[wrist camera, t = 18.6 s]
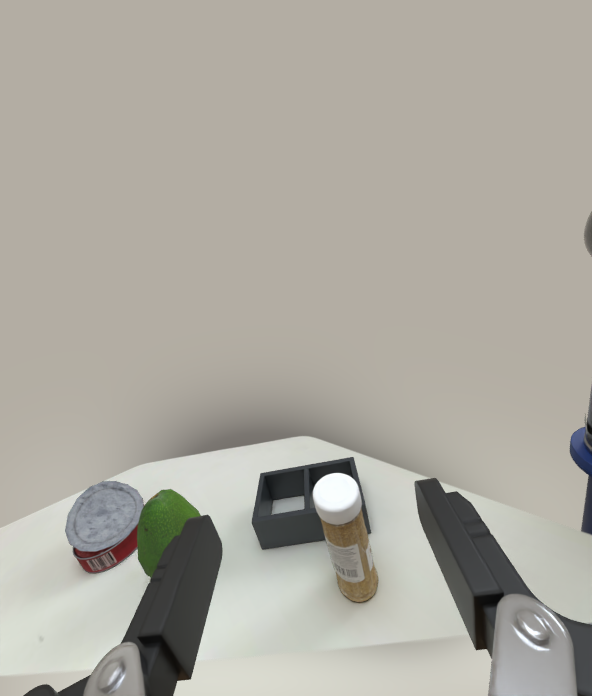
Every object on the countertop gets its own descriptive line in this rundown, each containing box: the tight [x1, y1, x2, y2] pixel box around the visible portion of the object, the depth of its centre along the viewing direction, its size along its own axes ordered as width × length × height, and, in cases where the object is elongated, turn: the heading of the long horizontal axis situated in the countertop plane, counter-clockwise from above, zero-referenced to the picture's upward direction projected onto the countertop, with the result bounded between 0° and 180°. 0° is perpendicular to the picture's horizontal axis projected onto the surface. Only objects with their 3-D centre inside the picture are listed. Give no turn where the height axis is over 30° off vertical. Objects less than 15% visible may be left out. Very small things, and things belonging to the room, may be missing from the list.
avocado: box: [137, 489, 201, 577], centre depth 35 cm, size 8×8×12 cm
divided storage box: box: [252, 457, 371, 549], centre depth 40 cm, size 14×8×5 cm, turn 90°
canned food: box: [65, 481, 144, 573], centre depth 43 cm, size 11×10×10 cm
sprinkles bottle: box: [313, 473, 378, 602], centre depth 29 cm, size 5×5×14 cm
